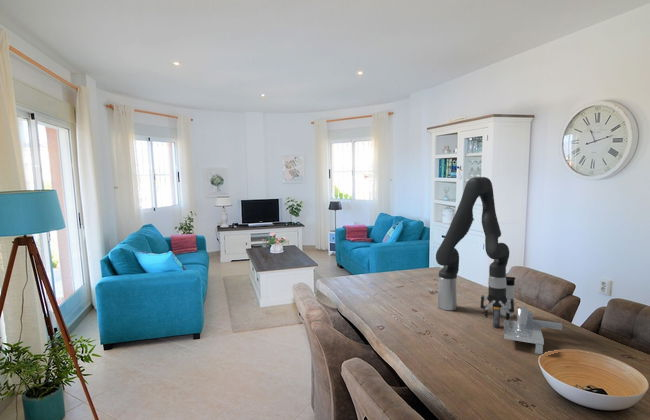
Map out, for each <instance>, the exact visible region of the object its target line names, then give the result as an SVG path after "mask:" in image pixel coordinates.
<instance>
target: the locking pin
mask: <svg viewBox="0 0 650 420" xmlns="http://www.w3.org/2000/svg"><path fill="white" fill-rule="evenodd" d="M500 309H501V307H494V306H492V327H493V328H496V329H500V328H501V315H500Z"/></svg>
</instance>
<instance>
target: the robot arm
mask: <svg viewBox="0 0 650 420" xmlns="http://www.w3.org/2000/svg"><path fill="white" fill-rule="evenodd" d="M479 197H480V198H479ZM478 198H479V199H480V200H481V203H482V211H481V212H482V213H481V226H482V231H483V233H484V236H485V237H484V238H485V239H484V246H485V247H484V248H485V252H486V255H487V257H488V258H490V259H491V260H493V262H491V263H490V264H489V266H488V267H489V271H488V272H489V273H488V274H489V276H488V295H487V296H486V295H483V294H482V295H480V296H481V297H480V309H482V310H483V311H484V317H485V318H487V319H488V316H489V309H490V308H491V307H493V306H494V307H503V308H504V309H505V310H506V317H505V320H511V318H510V313H511V312H514V313H515V299H514V300H513V298H511V299H507V298H506V277H507V265H508V261H509V258H510V249H509V248H510V247H509V246H508V245H507V244H506V243H504V242H499V238H501V236H502V231H501V227H500V225H499V221H498V217H497V213H496V205H495V203H496V202H495V197H494V187H493V183H492V181H491V180H490V178H488V177H485V176H477V177H471V178H469V179H468V180H467V182H466V184H465V186H464V189H463V192H462V195H461V199H460V202H459V204H458V206H457V209H456V211H455V213H454V215H453V218H452V221H451V222H450V225H449V227H448V229H447V232H446V234H445V236H444V238H443V240H442V242H441V244H440V245H439V247H438V249H437V251H436V253H435V260H436V263H437V264H438V265H439V266H443V267H442V268H441V269H440V270H439V271H438V292H437V309H440V310H443V311H454V310H455V311H456V309H457V306H458V305H457V302H458V301H457V292H458V291H457V287H458V286H457V283H458V273H459V267H460V253H459V252H458V249H456V246H457V245H458V244H459V243H460V242H461V240H463V239H464V237H465V236H466V235H467V234H468V233H469V231H470V228H471V227H472V225H473V221H474V211H473V209H474V207H475V203H476V202H477V200H478ZM487 300H488V302H487V304H486V305H484V304H485V303H484V302H485V301H487ZM507 301H508V302H509V303H510V304H511V309H509V308H508V307H507V306H506V304H505V303H506V302H507Z"/></svg>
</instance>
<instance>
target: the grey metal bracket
mask: <svg viewBox="0 0 650 420" xmlns="http://www.w3.org/2000/svg"><path fill="white" fill-rule="evenodd" d="M516 309H517V310H516V320H511V319H509V320H506V318H505V319H503V336H504V339H503V340H510V341H516V342H517V341H518V342H524V343H530V344H534V345H535V346H534V352H535V354H536V355H540V354H542V353H543V352H544V345H545V341H544V340H545V339H544V336H543V335H544V334H543V333H542V329H541V328H546V329H554V330H559V331H560V330H561V331H563V323H562V322H555V321H547V320H541V319H534V312H533V311H529V310H528V307H524V306H518V307H517V308H516Z"/></svg>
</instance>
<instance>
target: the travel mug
mask: <svg viewBox="0 0 650 420" xmlns="http://www.w3.org/2000/svg"><path fill="white" fill-rule="evenodd" d="M516 279H517V278H516V277H514V276H506V298H507V299H511V298H513V300H514V301H515V290H516V289H515V285H516V284H515V282H516V281H515V280H516ZM505 304H506V306H507V307H508V308H509V309H511V304H510V303H509V302H508V301H507V302H506V303H505ZM514 313H515V311H514V312H511V313H510V319H511V318H512V319H513V318H514V317H515V314H514ZM500 317H503V318H506V310H505V309H504V308H503V307H501V309H500Z"/></svg>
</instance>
